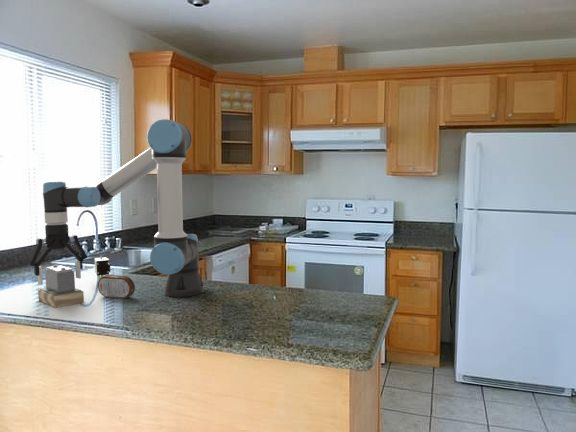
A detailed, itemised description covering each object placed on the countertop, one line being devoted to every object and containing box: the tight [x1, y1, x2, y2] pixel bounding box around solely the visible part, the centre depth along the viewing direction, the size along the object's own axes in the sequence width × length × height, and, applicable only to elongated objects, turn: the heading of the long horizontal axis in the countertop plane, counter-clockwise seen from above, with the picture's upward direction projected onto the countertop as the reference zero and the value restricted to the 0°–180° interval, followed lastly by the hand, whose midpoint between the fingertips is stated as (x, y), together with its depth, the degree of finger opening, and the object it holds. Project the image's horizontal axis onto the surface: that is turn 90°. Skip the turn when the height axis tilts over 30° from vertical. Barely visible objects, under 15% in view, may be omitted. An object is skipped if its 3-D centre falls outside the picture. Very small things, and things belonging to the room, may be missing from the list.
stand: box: [37, 287, 85, 309], centre depth 178 cm, size 16×10×4 cm, turn 47°
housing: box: [44, 264, 76, 293], centre depth 177 cm, size 6×12×9 cm, turn 45°
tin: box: [97, 274, 136, 299], centre depth 182 cm, size 15×3×8 cm, turn 72°
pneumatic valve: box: [93, 256, 111, 282], centre depth 206 cm, size 6×12×12 cm, turn 27°
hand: (59, 281), depth 177 cm, fingers open, 13 cm apart
